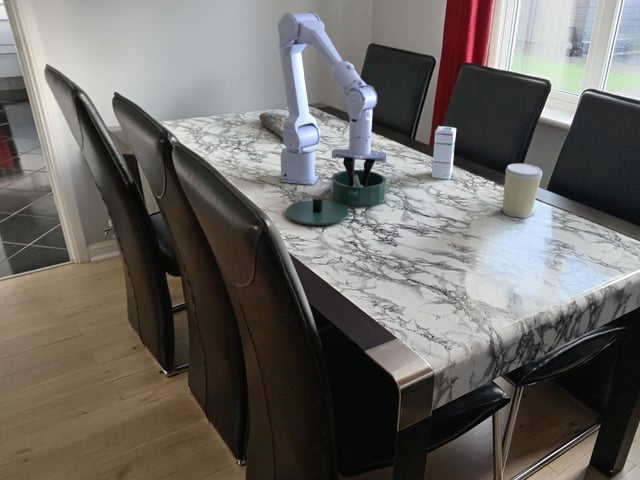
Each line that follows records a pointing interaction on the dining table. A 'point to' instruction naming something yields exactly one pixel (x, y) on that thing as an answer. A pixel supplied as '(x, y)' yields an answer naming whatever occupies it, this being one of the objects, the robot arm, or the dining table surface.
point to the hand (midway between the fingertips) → (358, 185)
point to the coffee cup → (520, 189)
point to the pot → (358, 189)
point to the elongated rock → (273, 122)
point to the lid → (317, 212)
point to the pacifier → (356, 181)
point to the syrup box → (443, 152)
